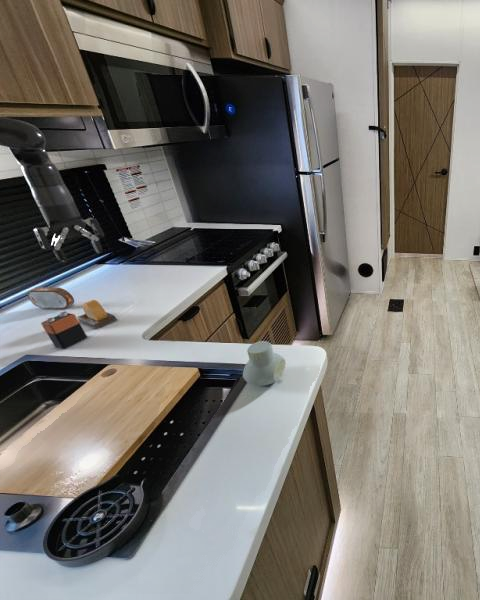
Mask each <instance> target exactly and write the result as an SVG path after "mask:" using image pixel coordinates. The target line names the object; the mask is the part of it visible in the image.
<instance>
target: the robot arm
mask: <svg viewBox="0 0 480 600" xmlns="http://www.w3.org/2000/svg"><path fill="white" fill-rule="evenodd" d="M46 144H47V138H46V136H45V134H44V133H43V131H41V129H39V128H38V127H36V125H34V124H31V123H29V122H26V121H23V120H20V119H19V120H18V119H14V118H10V117H5V116H0V146H1V147H5V148H8V150H9V151H10V153H11V155H12V156H13V158H14V159H15V161H16V162H17V164H18V166H19V168H20V170H21V173H22V175H23V177H24V179H25V181H26V183H27V185H28V187H29V189H30V190H31V195H32V197H33V199H34V201H35V203H36V205H37V207H38V209H39V212H40V213H41V215H42V217H43V219H44V221H45V223H46V226H44V227H34V228H33V229H32V230H33V232H34V235H35V236H36V239H37V241H38V243H39V245H40V248H41V249H43V250H46V251H53V254H54V255H55V257H56V259H57V260H58V261H60V262H63V263H67V262H68V258H67V256H66V254H65V253H64V251H63V249H61V248H62V244H64V243H65V240H70V239H73V238H79V237H81V236H83V237H86V238H87V239H89V240H90V243H91V245H92V247H93V250H94V251H95V253H96V254H101V253H103V252H102V251H103V247H102V244H101V242H100V239H102V238H105V232H104V231H103V229H102V227H101V225H100V223H99V222H98V219H97V218H94V217H87V219H83V218H82V216H81V214H80V212H79V209H78V206H77V205H76V203H75V200H74V197H73V196H72V194H71V192H70V190H69V189H68V187H67V186H66V183H65V181H64V180H63V178H62V175H61V173H60V171H59V169H58V168H57V166H56V164H54V163H53V162H52V160H51V159H50V156H49V154H48V152H47V149H46ZM87 225H88V226H89V227H91V229H92V231H93V233H94V234H92V232H90V231H88V230H86V229H85V228H86V226H87ZM49 232H50V233H52V234H54V235H53V237H52V240H51V244H50V243H49V240H48V237H47V236H48V234H49Z"/></svg>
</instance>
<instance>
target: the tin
mask: <svg viewBox="0 0 480 600" xmlns="http://www.w3.org/2000/svg"><path fill="white" fill-rule="evenodd" d="M26 296H27V298H28V300H29V301H30V302H31V304H32V305H33V306H35V307H37V308H40V309H44V310H65V309H68V308H69V307H71V306H73V305H74V304H75V298H74V297H73V294H71V292H69V291H68V290H66V289H64V288H62V287H59V286H58V287H57V286H55V287H54V286H50V287H49V286H48V287H47V286H37V287H34V288H33V289H31V290H29V291H28V292H27V295H26Z"/></svg>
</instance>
